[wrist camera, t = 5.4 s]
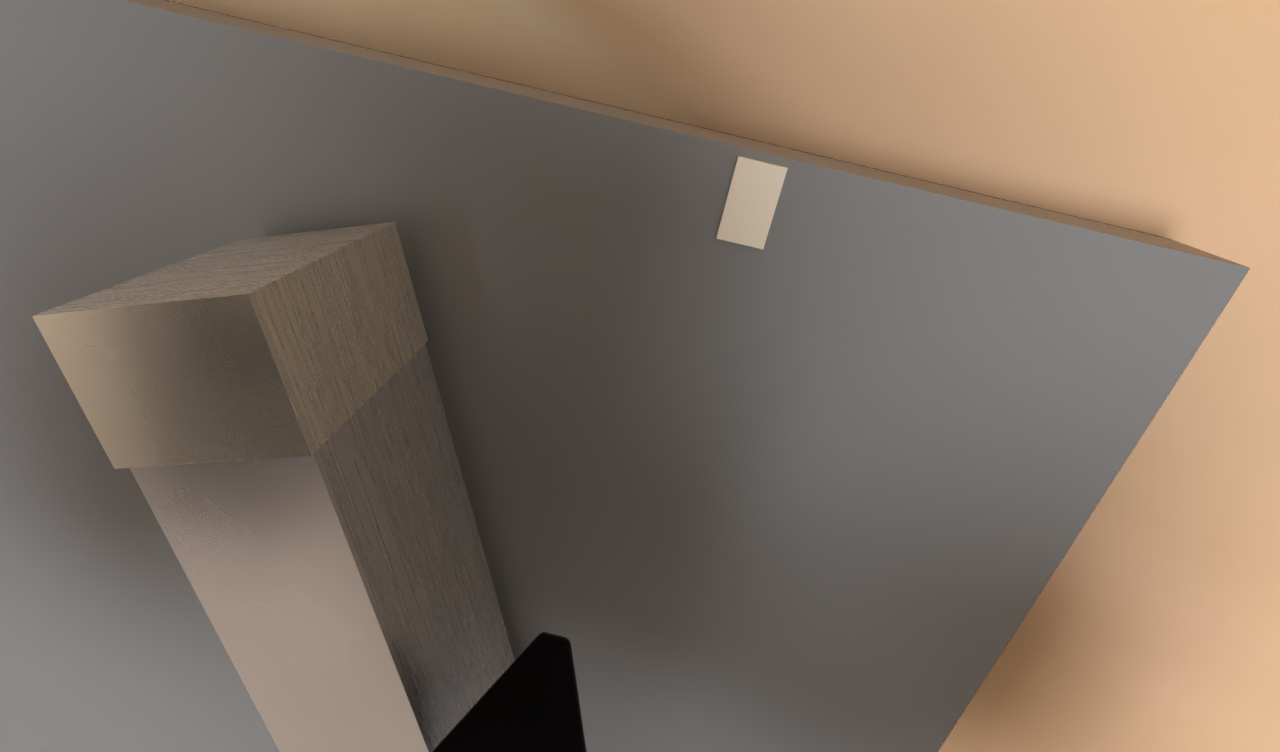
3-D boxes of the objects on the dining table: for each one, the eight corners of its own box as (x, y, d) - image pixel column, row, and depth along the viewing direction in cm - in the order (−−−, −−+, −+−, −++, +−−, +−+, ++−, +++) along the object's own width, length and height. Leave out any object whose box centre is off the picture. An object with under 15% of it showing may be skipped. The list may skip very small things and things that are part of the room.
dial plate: (760, 947, 18) (765, 1025, 16) (38, 787, 18) (-22, 851, 16) (1170, 238, 9) (1256, 270, 8) (-238, -96, 9) (-417, -127, 8)
